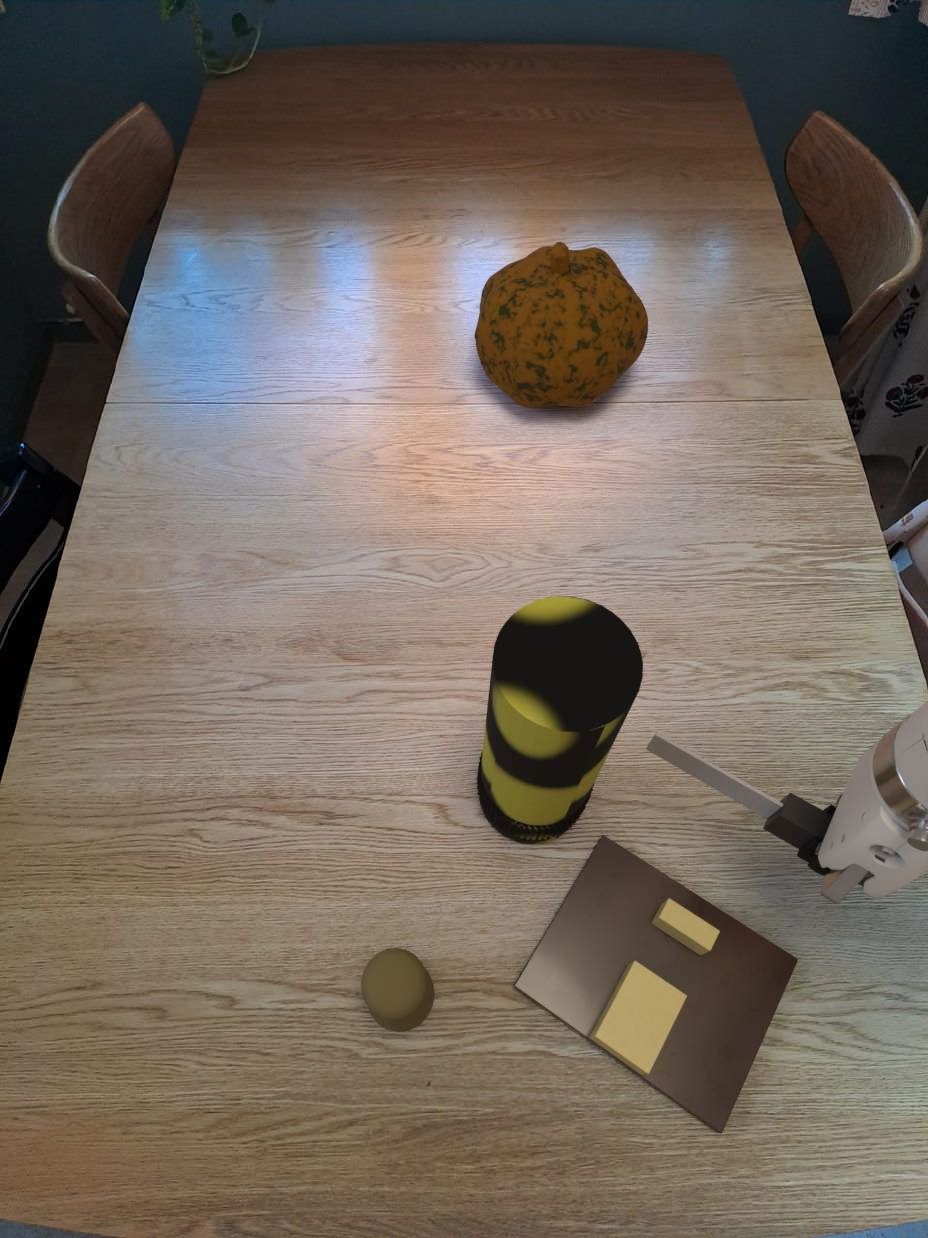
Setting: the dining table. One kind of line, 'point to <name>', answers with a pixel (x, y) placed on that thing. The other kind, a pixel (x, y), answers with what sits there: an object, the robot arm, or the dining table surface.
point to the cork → (397, 989)
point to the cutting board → (714, 982)
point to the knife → (751, 796)
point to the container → (553, 713)
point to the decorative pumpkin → (559, 327)
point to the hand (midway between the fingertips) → (822, 847)
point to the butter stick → (638, 1017)
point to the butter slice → (685, 927)
